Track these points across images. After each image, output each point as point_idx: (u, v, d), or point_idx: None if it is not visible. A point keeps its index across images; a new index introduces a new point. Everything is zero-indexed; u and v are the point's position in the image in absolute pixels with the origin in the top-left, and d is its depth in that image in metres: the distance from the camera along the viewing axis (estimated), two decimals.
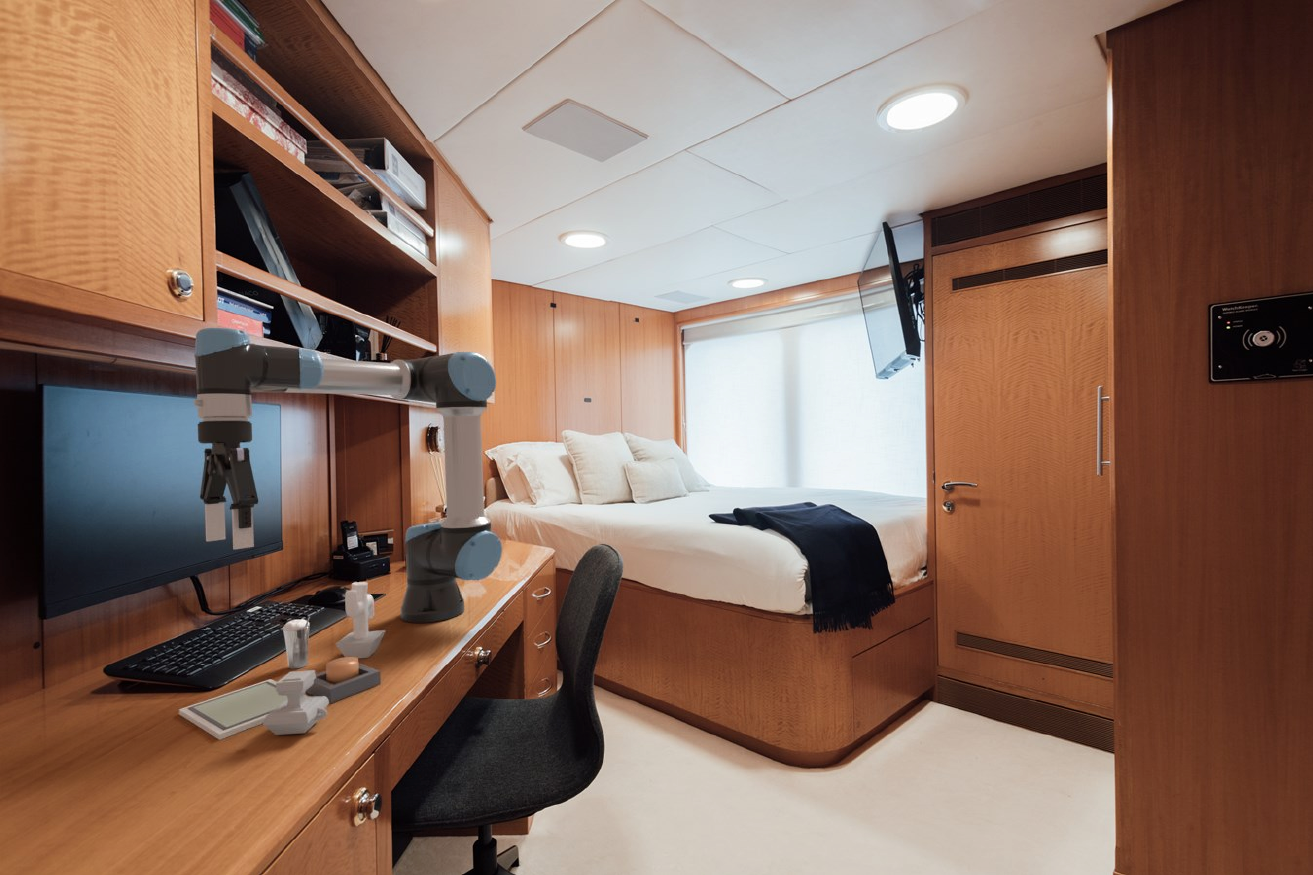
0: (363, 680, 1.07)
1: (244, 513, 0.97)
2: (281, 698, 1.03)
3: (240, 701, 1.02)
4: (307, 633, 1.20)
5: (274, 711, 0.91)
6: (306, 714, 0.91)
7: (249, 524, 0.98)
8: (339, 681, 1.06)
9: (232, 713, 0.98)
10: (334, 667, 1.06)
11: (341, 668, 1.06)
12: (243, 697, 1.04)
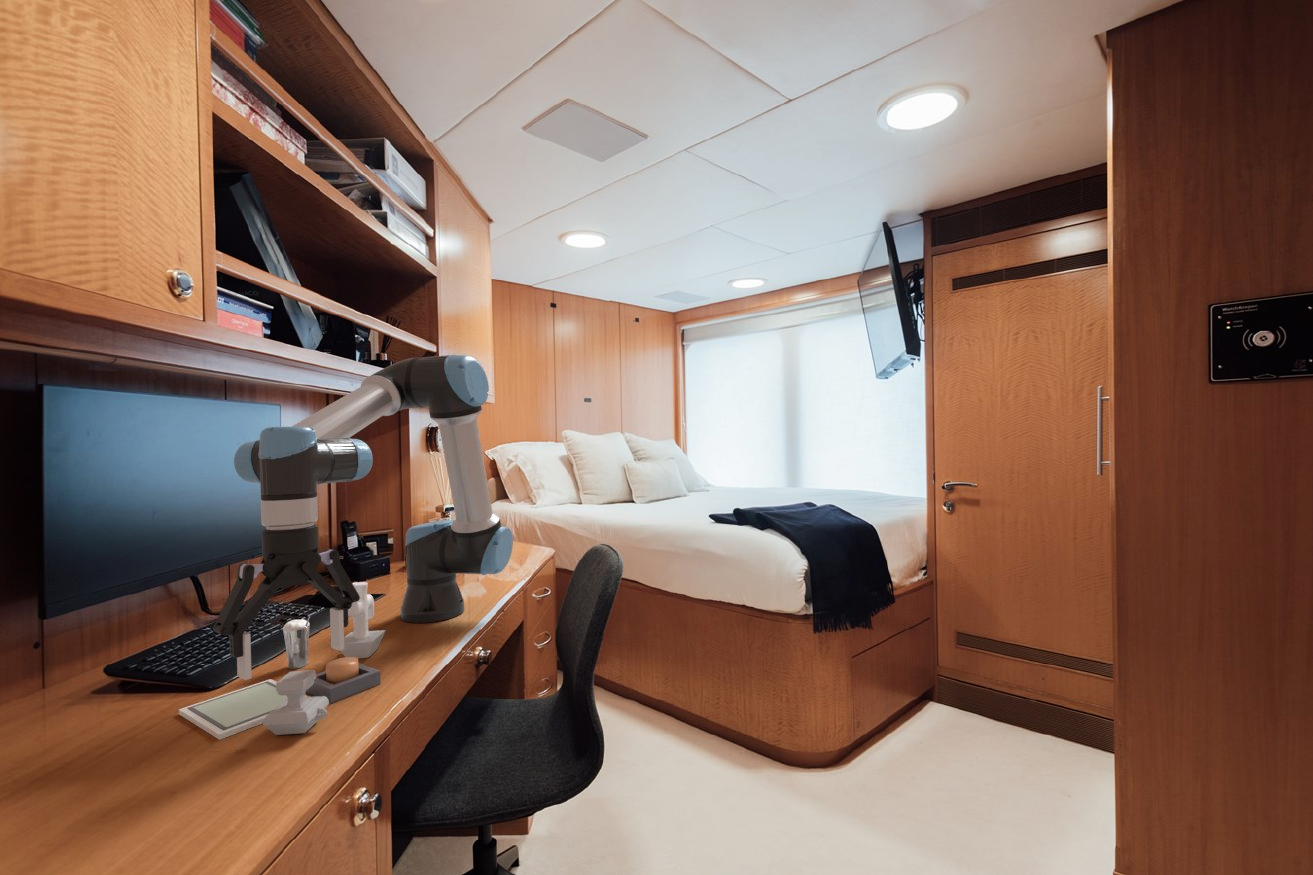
0: (363, 680, 1.07)
1: (231, 640, 0.86)
2: (281, 698, 1.03)
3: (240, 701, 1.02)
4: (307, 633, 1.20)
5: (274, 711, 0.92)
6: (306, 714, 0.91)
7: (233, 654, 0.86)
8: (339, 681, 1.06)
9: (232, 713, 0.98)
10: (334, 667, 1.06)
11: (341, 668, 1.06)
12: (243, 697, 1.04)
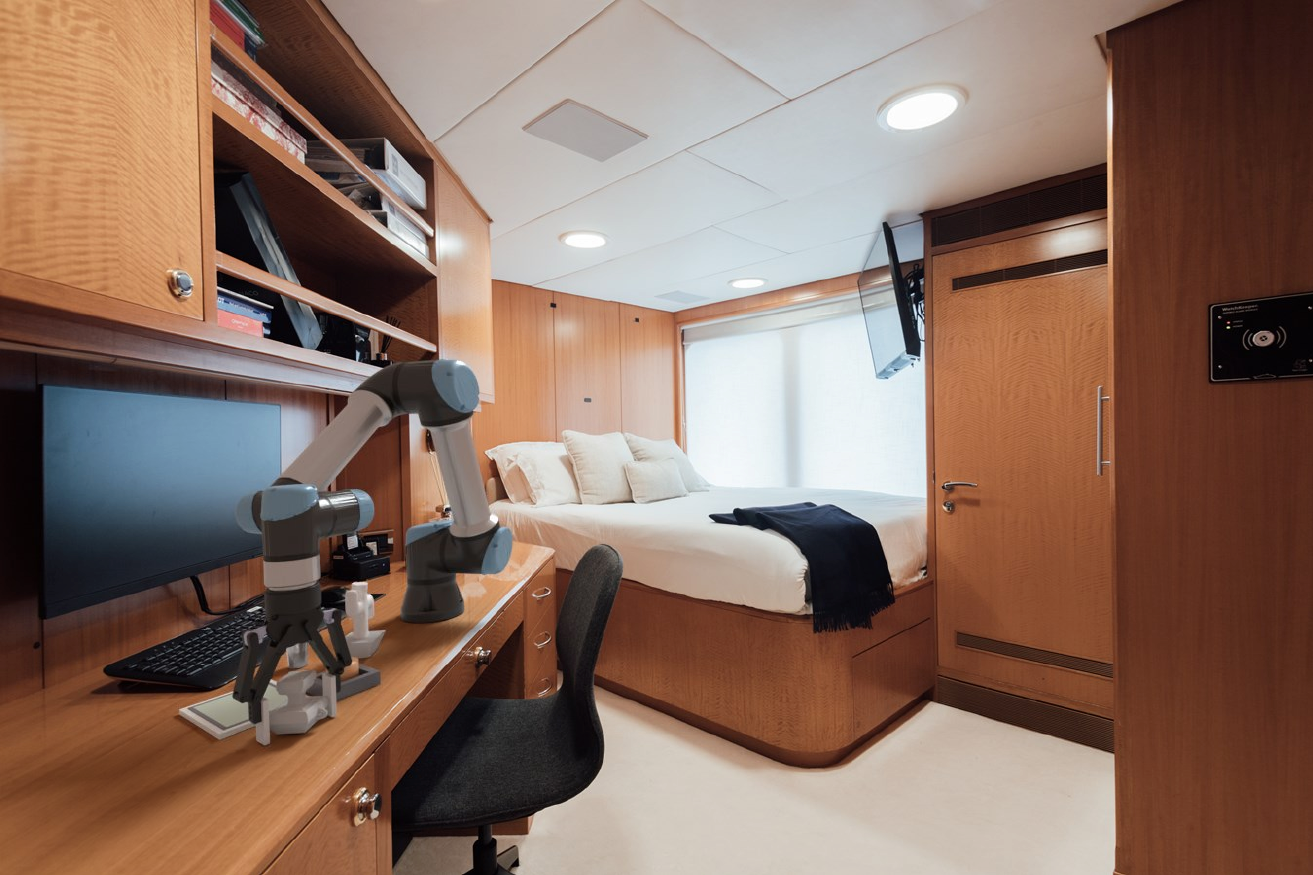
0: (363, 680, 1.07)
1: (249, 706, 0.88)
2: (281, 698, 1.03)
3: None
4: None
5: (274, 711, 0.92)
6: (306, 714, 0.91)
7: (252, 720, 0.88)
8: None
9: (232, 713, 0.98)
10: None
11: None
12: None
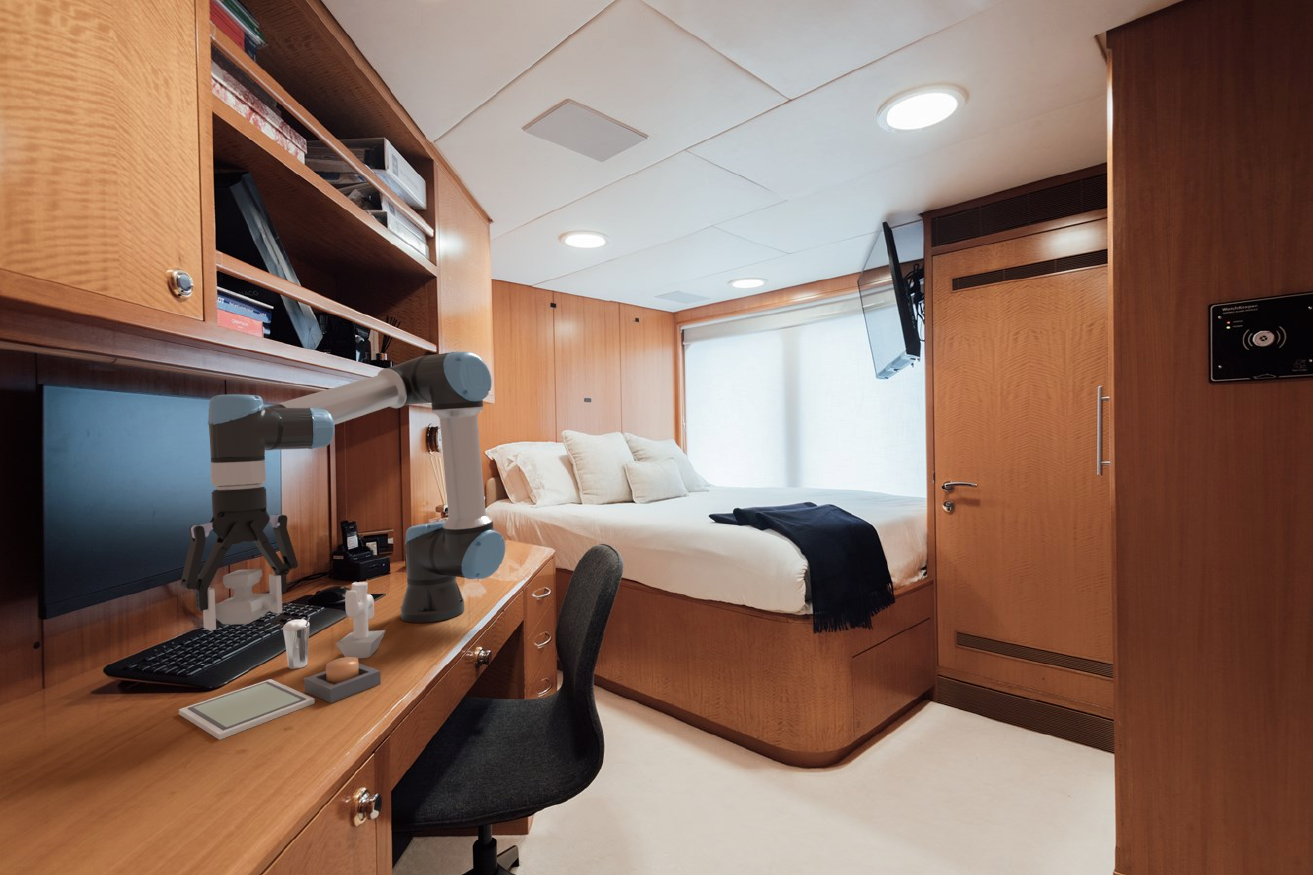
0: (363, 680, 1.07)
1: (196, 595, 0.96)
2: (281, 698, 1.03)
3: (240, 701, 1.02)
4: (307, 633, 1.20)
5: (221, 602, 0.99)
6: (250, 604, 0.98)
7: (199, 607, 0.95)
8: (339, 681, 1.06)
9: (232, 713, 0.98)
10: (334, 667, 1.06)
11: (341, 668, 1.06)
12: (243, 697, 1.04)
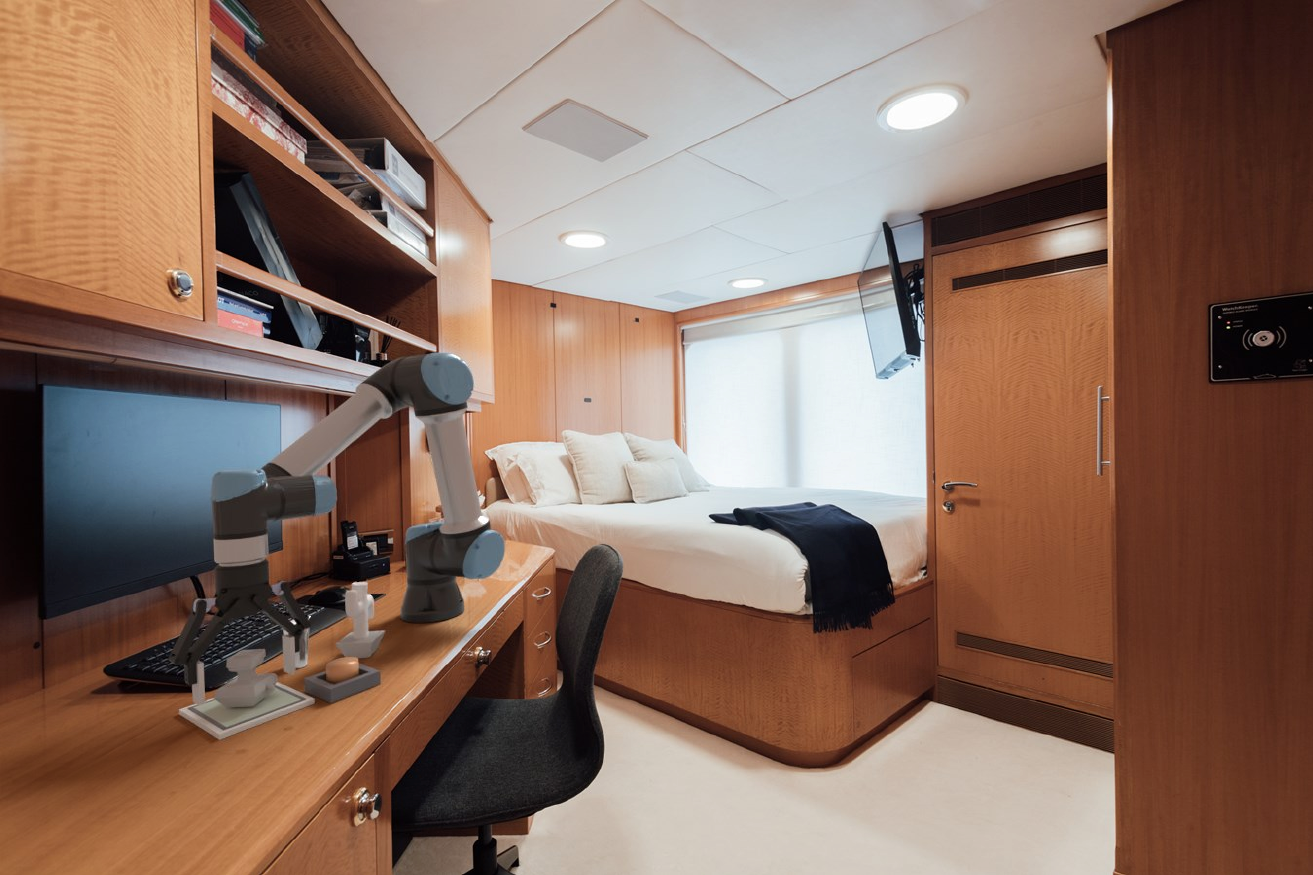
0: (363, 680, 1.07)
1: (185, 669, 0.94)
2: (281, 698, 1.03)
3: None
4: (307, 633, 1.20)
5: (225, 686, 0.99)
6: (254, 688, 0.98)
7: (187, 682, 0.94)
8: (339, 681, 1.06)
9: (232, 713, 0.98)
10: (334, 667, 1.06)
11: (341, 668, 1.06)
12: None
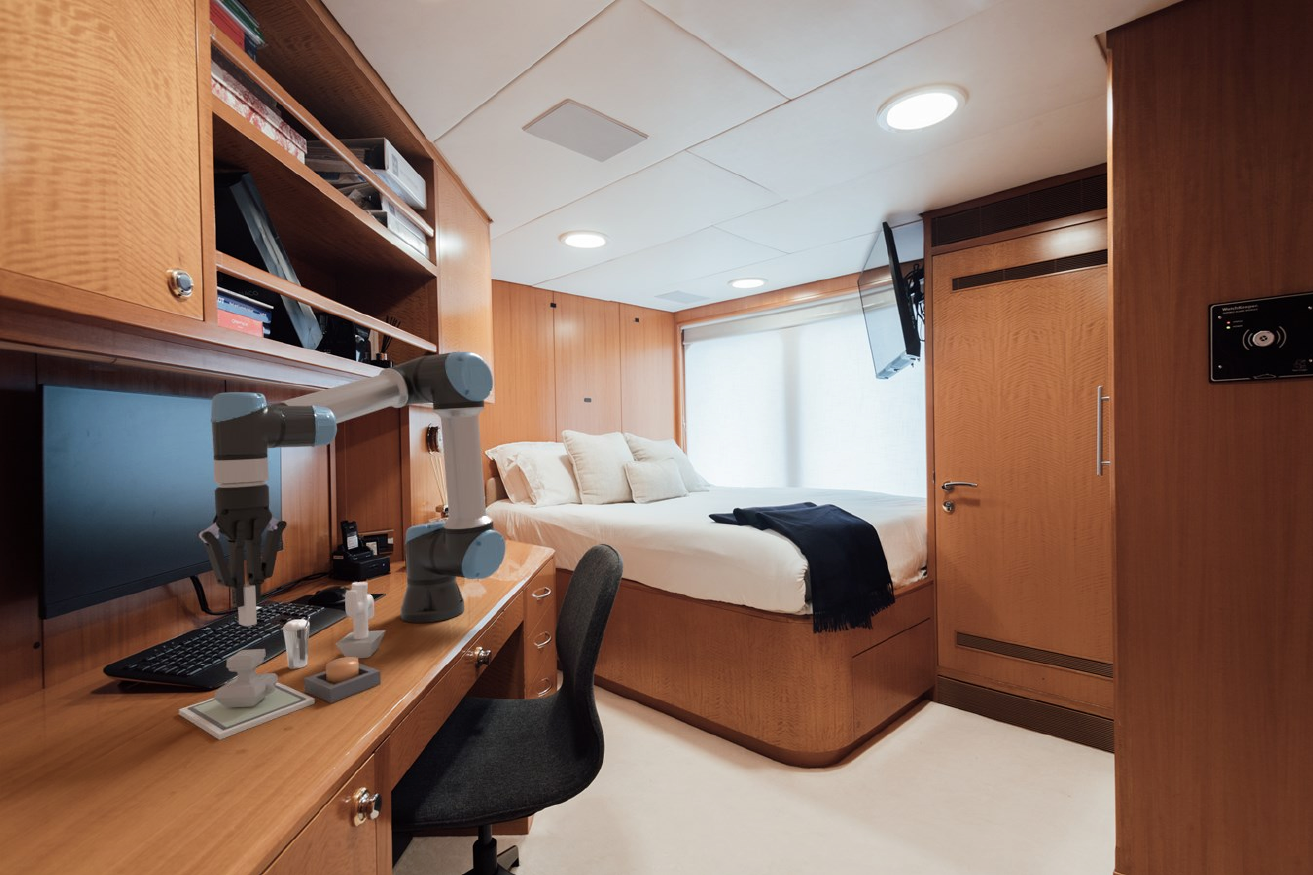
0: (363, 680, 1.07)
1: (233, 592, 1.00)
2: (281, 698, 1.03)
3: None
4: (307, 633, 1.20)
5: (225, 686, 0.99)
6: (254, 688, 0.98)
7: (235, 604, 0.99)
8: (339, 681, 1.06)
9: (232, 713, 0.98)
10: (334, 667, 1.06)
11: (341, 668, 1.06)
12: None
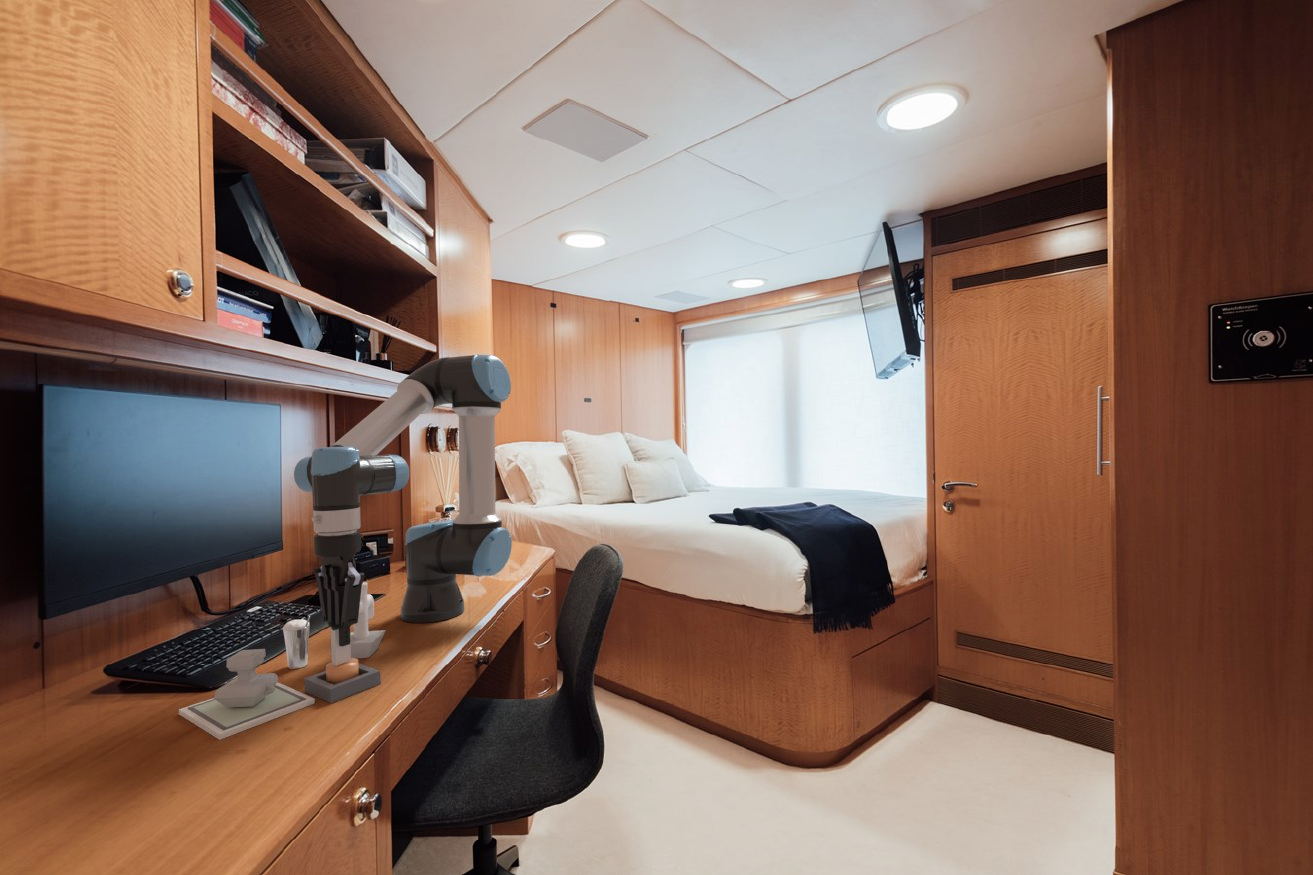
0: (363, 680, 1.07)
1: (344, 632, 1.07)
2: (281, 698, 1.03)
3: None
4: (307, 633, 1.20)
5: (225, 686, 0.99)
6: (254, 688, 0.98)
7: (348, 641, 1.08)
8: (339, 682, 1.06)
9: (232, 713, 0.98)
10: (334, 668, 1.06)
11: (341, 669, 1.06)
12: None
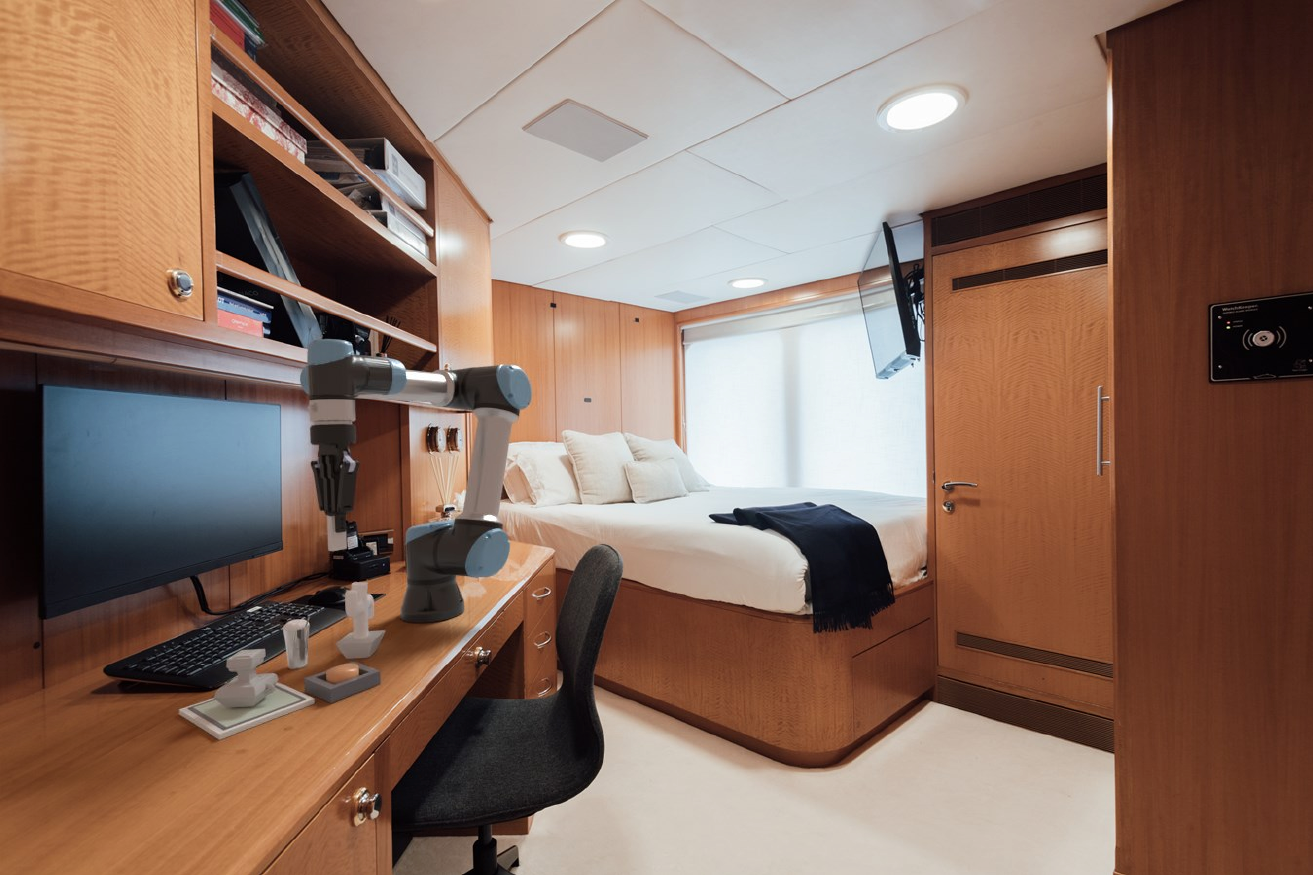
0: (363, 680, 1.07)
1: (340, 519, 1.11)
2: (281, 698, 1.03)
3: None
4: (307, 633, 1.20)
5: (225, 686, 0.99)
6: (254, 688, 0.98)
7: (344, 529, 1.11)
8: None
9: (232, 713, 0.98)
10: (334, 674, 1.06)
11: (341, 675, 1.06)
12: None
